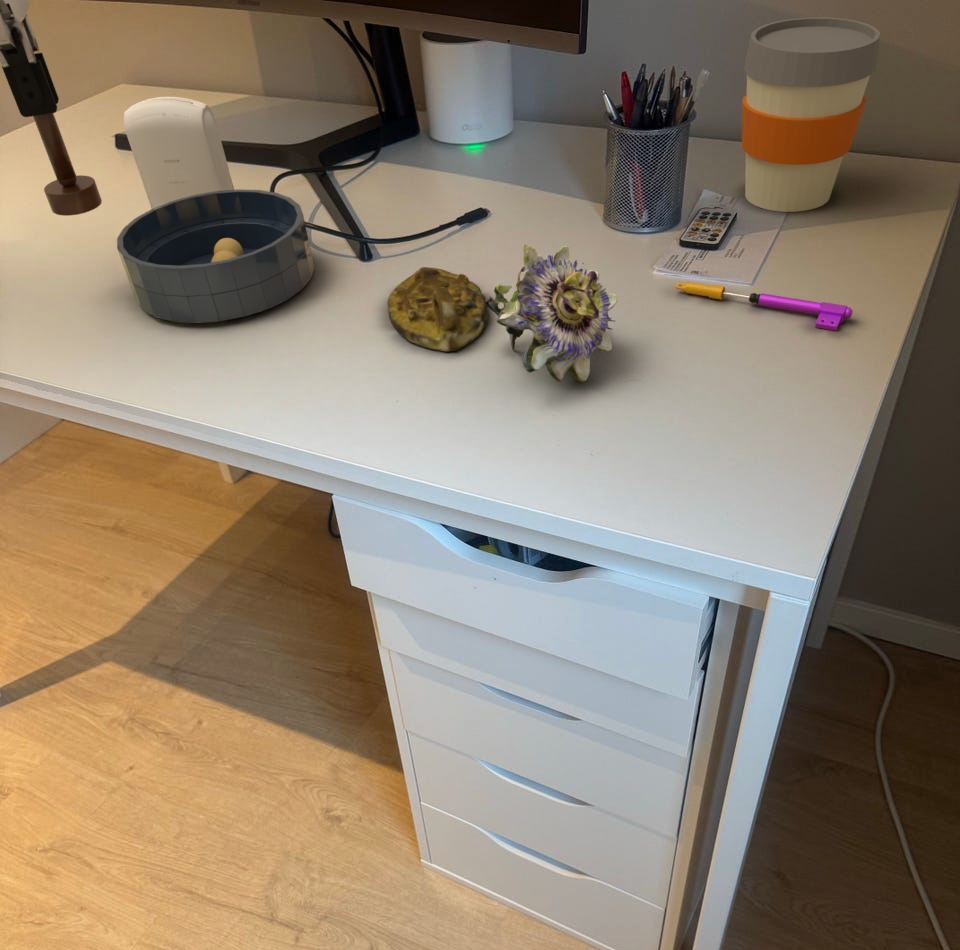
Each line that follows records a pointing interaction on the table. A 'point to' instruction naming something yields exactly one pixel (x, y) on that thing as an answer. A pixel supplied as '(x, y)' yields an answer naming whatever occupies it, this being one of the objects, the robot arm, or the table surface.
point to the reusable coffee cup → (803, 107)
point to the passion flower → (556, 314)
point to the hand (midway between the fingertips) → (40, 108)
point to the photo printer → (176, 148)
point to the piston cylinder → (779, 303)
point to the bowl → (190, 248)
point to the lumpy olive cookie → (438, 309)
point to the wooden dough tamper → (65, 174)
